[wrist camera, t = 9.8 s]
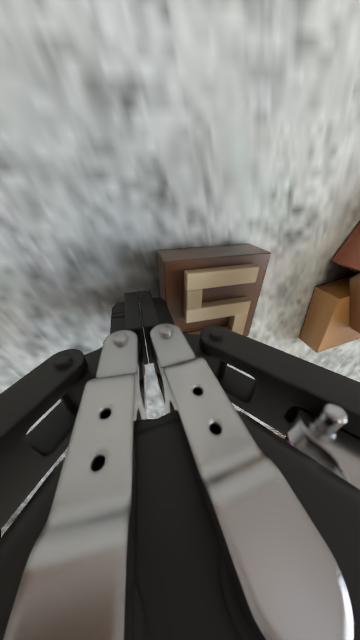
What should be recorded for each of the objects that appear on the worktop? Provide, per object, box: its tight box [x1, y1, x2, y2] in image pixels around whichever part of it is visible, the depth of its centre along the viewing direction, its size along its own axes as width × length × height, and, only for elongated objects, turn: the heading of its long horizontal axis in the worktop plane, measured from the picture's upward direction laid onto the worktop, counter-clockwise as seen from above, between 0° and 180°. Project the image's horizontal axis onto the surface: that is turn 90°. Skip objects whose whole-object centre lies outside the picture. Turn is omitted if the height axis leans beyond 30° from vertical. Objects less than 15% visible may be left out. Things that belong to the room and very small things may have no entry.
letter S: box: [157, 244, 271, 336], centre depth 12 cm, size 6×6×3 cm
